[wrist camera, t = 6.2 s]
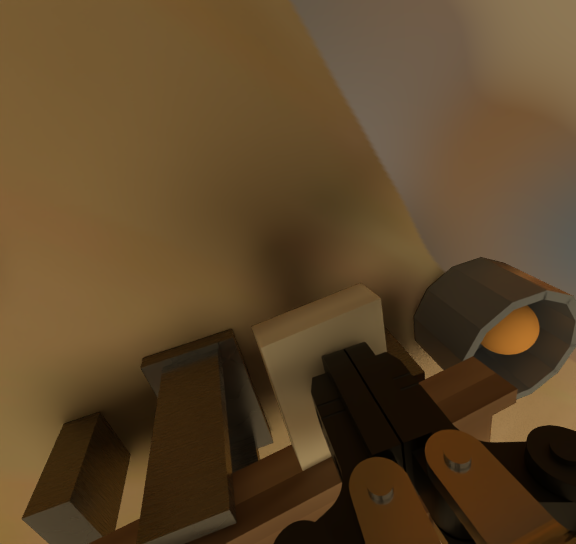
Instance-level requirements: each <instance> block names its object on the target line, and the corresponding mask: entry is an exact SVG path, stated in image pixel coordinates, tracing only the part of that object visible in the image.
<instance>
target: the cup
mask: <svg viewBox="0 0 576 544" xmlns="http://www.w3.org/2000/svg"><path fill="white" fill-rule="evenodd" d="M526 305H528V306H529V307H530V308H531V309H532V310H533V311H534V313H535V315H536V316H537V318H538V321H539V335H538V338H537V340H536V341H535V343H534V344H533V345H532V346H531V347H530V348H529V349H527V350H525V351H524V352H521V353H518V354H512V355H504V354H498V353H495V352H492V351H490V350H488V349H487V348H485V347H484V346H483V345H481V342H482V340H483V338H484V337H485V335H486V333H487V332H488V331H490V330H491V329H492V328H493V327H494V326H496V325H497V324H498V323H499V322H500V321H501V320H503V319H504V318H505V317H506V316H507V315H509V314H510V313H511V312H512V311H513V310H515V309H518V308H521V307H524V306H526ZM414 326H415V341H416V342H417V343H418V344H419V345H420V346H421V347H422V348H423V349H424V350H425V351H426V352H427V353H428V354H429V355H430V356H431V357H432V358H433V360H434V361H435V362H436V363H437V364H438V365H439V366H440V367H441V368H442V369H443V370H446V369H448V368H450V367H452V366H454V365H456V364H458V363H460V362H462V361H464V360H466V359H468V358H470V357H472V356H473V357H475V358H476V359H478V360H479V361H480V362H482V363H483V364H484V365H486V366H487V367H488V368H490V369H491V370H493V371H494V372H495V373H497V374H498V375H499V376H501V377H502V378H503V379H505V380H506V381H508V382H509V383H510V384H512V385H513V386H514V387H516V388H517V389H518V390H517V398H516V400H517V399H519V398H522V397H525V396H527V395H530V394H532V393H533V392H534V391H535V390H537V389H538V388H539V387H540V386H542V385H543V384H544V383H545V382H547V381H548V380H549V379H550V378H552V377H553V376H554V375H555V374H557V373H558V372H559V370H560V369H561V367H562V366H563V365H564V363H565V362H566V360H567V359H568V357H569V356H570V354H571V353H572V352H573V350H574V349H575V347H576V300H575V298H574V296H572V295H570V294H568V293H566V292H564V291H562V290H560V289H558V288H556V287H553V286H551V285H549V284H547V283H545V282H543V281H541V280H539V279H537V278H535V277H533V276H531V275H528V274H526V273H524V272H522V271H520V270H518V269H516V268H514V267H512V266H510V265H508V264H506V263H503V262H499V261H495V260H490V259H487V258H482V257H480V258H477V259H474V260H471V261H468V262H465V263H462V264H459V265H456V266H453V267H451V268H450V269H449V270H448V271H447V272H446V273H445V274H444V275H442V276H441V277H440V278H439V279H438V280H437V281H436V282H435V283H434V284H432V285H431V286H430V287H429V288H428V289H427V291H426V293H425V295H424V297H423V299H422V301H421V303H420V305H419V307H418V309H417V311H416V313H415V315H414Z"/></svg>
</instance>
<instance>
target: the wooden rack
mask: <svg viewBox="0 0 576 544" xmlns="http://www.w3.org/2000/svg"><path fill="white" fill-rule="evenodd" d="M384 331H385V339H386V348H387V353H389V354H391V355H393V356H394V357H396V358H398V359H400V360H401V361H402V363H403V364H404V365H405V366H406V368H407V369H408V370H409V371H410V373H411V375H413V376H414V377H415V379H416V380H417V381H418V383H419V382H421V381H423V380H425V372H424V371H423V370H422V369H421V367H420V366H419V365H418V364H417V363H416V362H415V361H414V359H413V358H412V357H411V356H410V355H409V354H408V353H407V352H406V350H405V349H404V348H403V347H402V346H401V345H400V344H399V342H398V341H397V340H396V339H395V338H394V337H393V336H392V335H391V333H390V332H389V331H388V330H387V329H386V328H385V327H384ZM141 370H142V372H143V373H144V375H145V377H146V379H147V380H148V382H149V384H150V386H151V387H152V389H153V391H154V393H155V394H156V396H157V398H158V401H157V407H156V414H155V421H154V427H153V434H152V441H151V448H150V454H149V461H148V468H147V474H146V481H145V488H144V495H143V501H142V508H141V515H140V521H139V528H138V535H137V542H136V544H185V543H188V542H190V541H193V540H195V539H198V538H200V537H203V536H205V535H208V534H210V533H213V532H215V531H218V530H220V529H223V528H225V527H228V526H230V525H233V524H236V523H237V520H236V509H235V498H234V487H233V476H232V473H234V472H236V471H238V470H241V469H243V468H245V467H247V466H249V465H251V464H253V463H255V462H257V461H259V460H260V457H259V451H258V448H260V447H263V446H266V445H268V444H271V443H273V439H272V435H271V431H270V428H269V426H268V423H267V421H266V418H265V415H264V413H263V410H262V407H261V405H260V402H259V399H258V397H257V394H256V392H255V389H254V386H253V384H252V381H251V378H250V376H249V373H248V370H247V368H246V365H245V363H244V360H243V357H242V355H241V352H240V349H239V347H238V344H237V341H236V339H235V336H234V334H233V331H232V329H230V330H227V331H224V332H221V333H218V334H215V335H212V336H209V337H206V338H203V339H200V340H197V341H194V342H191V343H188V344H185V345H182V346H179V347H176V348H173V349H170V350H167V351H164V352H161V353H158V354H155V355H152V356H149V357H146V358H143V360H142V364H141ZM129 460H130V454H129V452H128V451H127V449H126V448H125V447H124V445H123V444H122V442H121V441H120V440H119V438H118V437H117V435H116V434H115V433H114V431H113V430H112V428H111V427H110V426H109V424H108V423H107V421H106V420H105V419H104V417H103V416H102V414H101V413H100V412H98V413H95V414H92V415H89V416H86V417H83V418H80V419H77V420H74V421H71V422H69V423H66V424H63V427H62V429H61V431H60V433H59V436H58V438H57V440H56V442H55V445H54V447H53V449H52V451H51V454H50V456H49V458H48V460H47V463H46V465H45V467H44V470H43V472H42V474H41V476H40V479H39V481H38V483H37V485H36V488H35V490H34V492H33V494H32V497H31V499H30V501H29V503H28V506H27V508H26V510H25V512H24V515H23V517H22V520H23V521H24V522H26V523H27V524H28V525H29V526H30V527H31V528H32V529H33V530H34V531H36V532H37V533H38V534H39V535H40V536H41V537H42V538H43V539H44V540H46V541H47V542H48V543H49V544H89V543H91V542H93V541H95V540H97V539H99V538H101V537H103V536H105V535H107V534H109V533H111V532H113V531H115V528H116V524H117V519H118V514H119V509H120V504H121V499H122V494H123V489H124V484H125V480H126V475H127V470H128V465H129Z"/></svg>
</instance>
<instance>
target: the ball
mask: <svg viewBox="0 0 576 544" xmlns="http://www.w3.org/2000/svg"><path fill="white" fill-rule="evenodd" d="M538 335H539V321H538V318H537V316H536V315H535V313H534V311H533V310H532V309H531V308H530V307H529V306H528V305H526V306H524V307H521V308H518V309H515V310H513V311H512V312H511V313H510V314H509V315H507V316H506V317H505V318H504V319H503V320H501V321H500V322H499V323H498V324H497V325H496V326H494V327H493V328H492V329H491V330H490V331H488V332H487V333H486V335H485V337H484V338H483V340H482V342H481V345H483V346H484V347H485V348H487V349H488V350H490V351H492V352H495V353H498V354H504V355H512V354H518V353H521V352H524V351H525V350H527V349H529V348H530V347H531V346H532V345H533V344H534V343H535V341H536V340H537V338H538Z"/></svg>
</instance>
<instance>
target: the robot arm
mask: <svg viewBox="0 0 576 544" xmlns="http://www.w3.org/2000/svg"><path fill="white" fill-rule="evenodd" d="M321 358H322V362H323V366H324V371H325V373H324V374H321V375H318V376H315V377H312V385H311V395H312V398H313V402H314V406H315V410H316V413H317V417H318V421H319V424H320V427H321V430H322V432H323V435H324V437H325V440H326V443H327V445H328V448H329V451H330V453H331V456H332V458H333V461H334V464H335V466H336V469H337V472H338V474H339V477H340V480H341V482H342V487H341V491H340V494H339V496H338V498H337V500H336V501H335V503H334V504H333V505H332V507H331V508H330V509H329V510H328V511H326V512H325V513H324V514H323V515H322V516H321V517H320V518H319V519H318V520H317V521H316V522H313V521H310V520H300V521H296V522H293V523H291V524H290V525H288V526H287V527H285V528H284V529H283V530H282V531H281V532H280V533H279V535H278V536H277V538H276V539H275V542H274V544H441V543H442V544H576V431H573V430H570V429H567V428H564V427H560V426H551V425H547V426H541V427H537V428H535V429H533V430H532V431H531V432H530V433H529V435H528V437H527V441H526V442H498V443H495V442H484V441H480V440H477V439H476V438H474V437H473V436H471V435H469V434H467V433H465V432H462V431H460V430H459V429H457V428H456V427H455V426H454V425H453V424H452V423H451V421H450V420H449V419H448V418H447V416H446V415H445V414H444V413H443V412H442V410H441V409H440V408H439V407H438V405H437V404H436V403H435V402H434V401H433V399H432V398H431V397H430V396H429V394H428V393H427V392H426V391H425V390H424V388H423V387H422V386H421V385H419V383H418V381H417V380H416V379H415V377H414V376H413V375H411V373H410V371H409V370H408V369H407V368H406V366H405V365H404V364H403V363H402V361H401V360H400V359H398V358H396V357H394V356H393V355H391V354H389V353H387V352H384V353H381V354H378V355H375V354H374V352H373V351H372V350H371V348H370V347H369V346H368V344H367V343H366V342H362V343H359V344H356V345H353V346H350V347H347V348H344V349H342V350H339V351H336V352H333V353H330V354H327V355H324V356H322V357H321ZM419 495H420V497H421V499H422V501H423V502H424V504H425V506H426V508H427V509H428V515H429V517H428V515H427V513H426V511H425V509H424V507H423V505H422V503H421V501H420V499H419V497H418V496H419ZM440 541H441V542H440Z"/></svg>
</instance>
